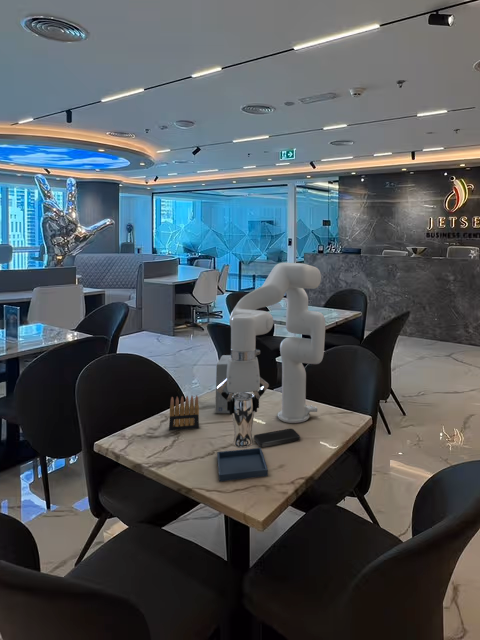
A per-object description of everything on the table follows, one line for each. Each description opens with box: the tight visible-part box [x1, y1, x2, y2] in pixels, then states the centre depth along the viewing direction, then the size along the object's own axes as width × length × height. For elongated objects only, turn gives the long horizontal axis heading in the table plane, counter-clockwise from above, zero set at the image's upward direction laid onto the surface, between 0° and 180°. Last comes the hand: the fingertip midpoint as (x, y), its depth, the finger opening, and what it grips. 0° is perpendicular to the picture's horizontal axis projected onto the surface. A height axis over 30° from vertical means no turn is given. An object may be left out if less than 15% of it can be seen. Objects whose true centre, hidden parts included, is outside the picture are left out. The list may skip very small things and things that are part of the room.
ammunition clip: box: [168, 395, 200, 431], centre depth 162 cm, size 11×2×12 cm, turn 103°
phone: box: [253, 428, 301, 448], centre depth 155 cm, size 8×1×15 cm
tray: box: [216, 447, 269, 482], centre depth 136 cm, size 14×14×2 cm
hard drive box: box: [214, 354, 236, 414], centre depth 184 cm, size 16×8×20 cm, turn 2°
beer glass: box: [231, 392, 255, 449], centre depth 136 cm, size 7×7×15 cm
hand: (243, 411), depth 136 cm, fingers closed on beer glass, 7 cm apart
